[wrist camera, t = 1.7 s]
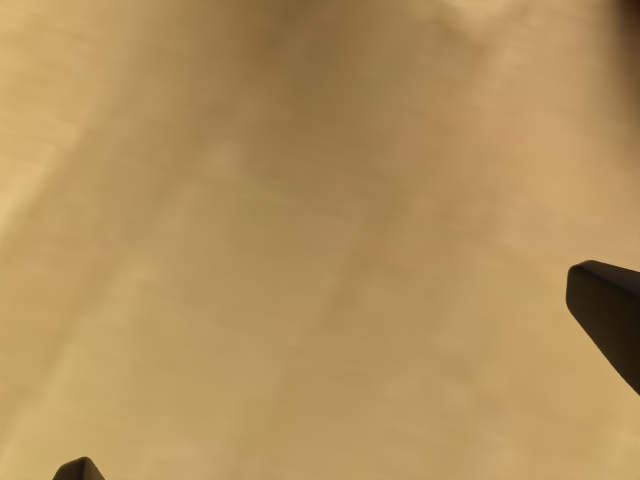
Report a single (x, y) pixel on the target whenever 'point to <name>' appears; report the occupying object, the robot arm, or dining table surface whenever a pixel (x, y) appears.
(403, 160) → the dining table surface
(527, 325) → the dining table surface
